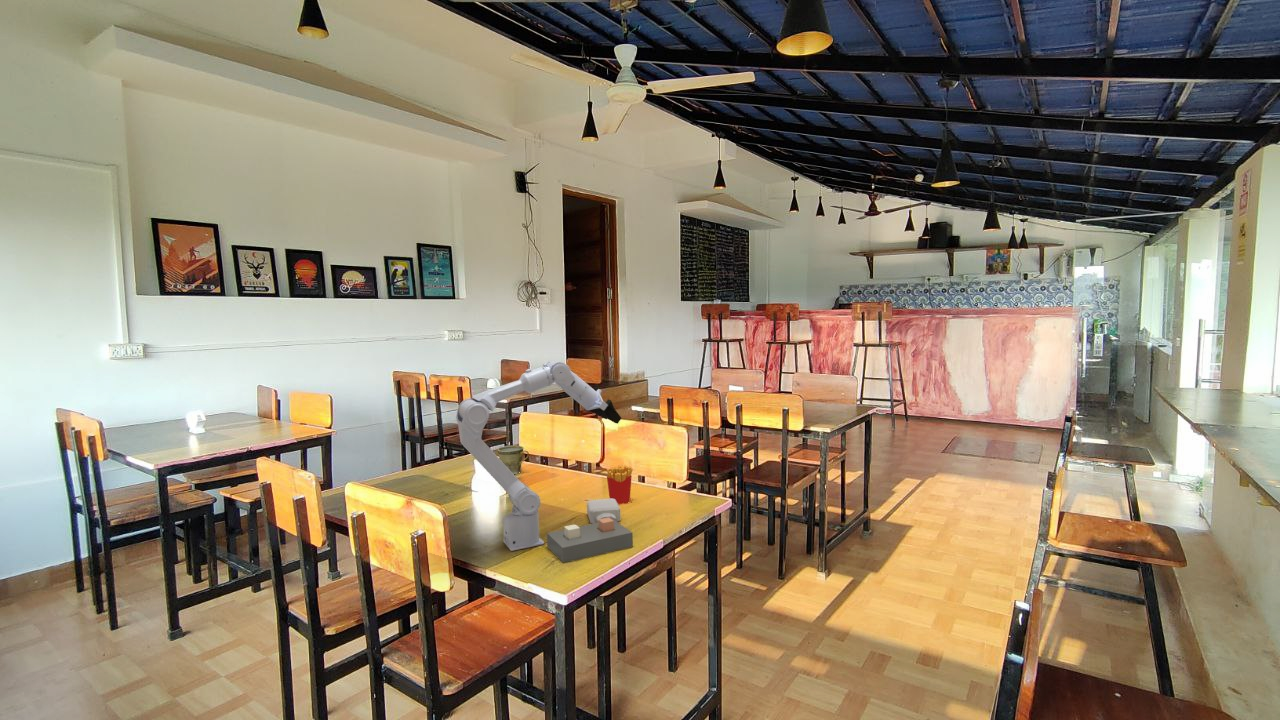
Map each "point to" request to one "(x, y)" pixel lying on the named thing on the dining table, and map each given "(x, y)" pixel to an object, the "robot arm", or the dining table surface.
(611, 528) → the terracotta key
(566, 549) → the key box
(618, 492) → the french fries
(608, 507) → the charger
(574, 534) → the offwhite key
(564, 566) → the dining table surface
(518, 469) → the ceramic cup
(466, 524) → the dining table surface
